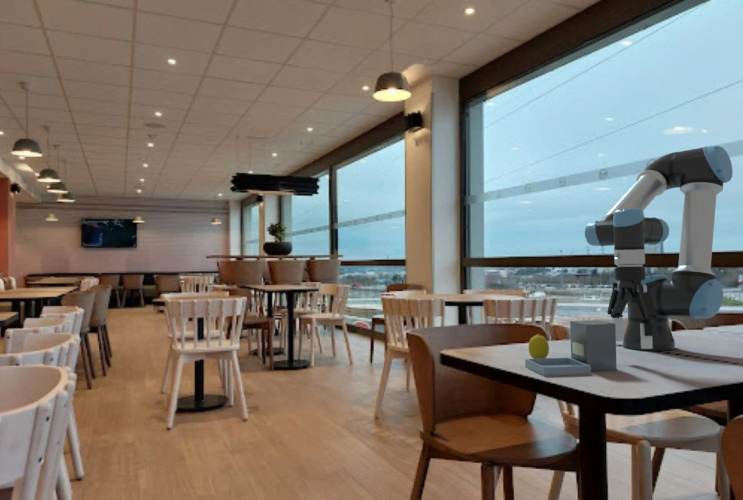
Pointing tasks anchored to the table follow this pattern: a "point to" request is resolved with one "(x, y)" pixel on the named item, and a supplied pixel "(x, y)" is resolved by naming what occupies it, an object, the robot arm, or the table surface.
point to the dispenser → (594, 344)
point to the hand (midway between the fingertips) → (631, 344)
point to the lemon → (538, 347)
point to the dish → (557, 366)
